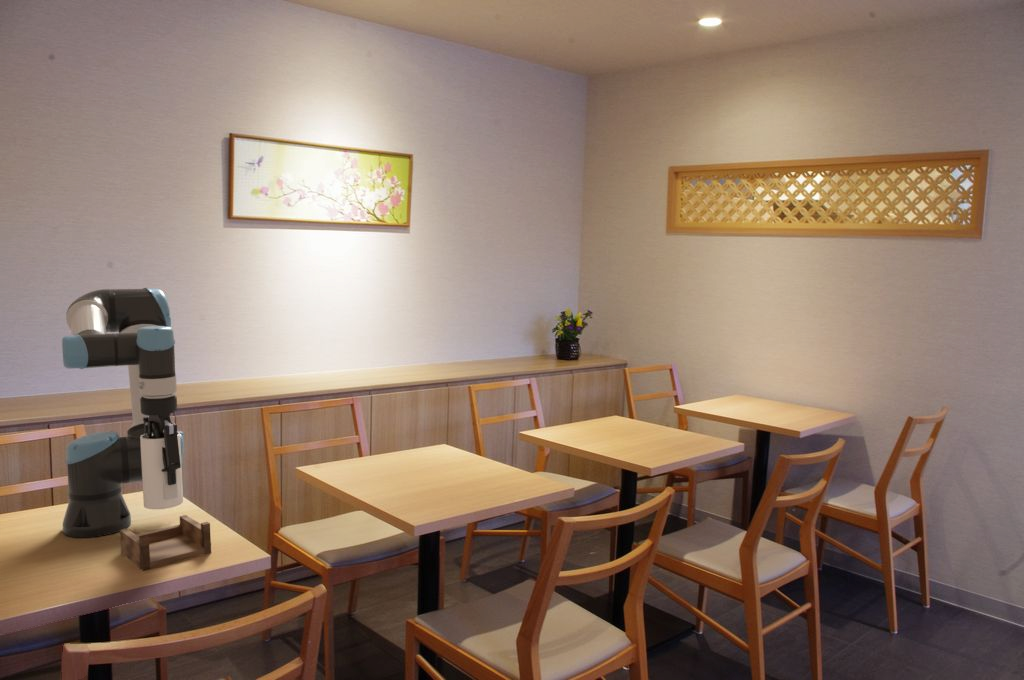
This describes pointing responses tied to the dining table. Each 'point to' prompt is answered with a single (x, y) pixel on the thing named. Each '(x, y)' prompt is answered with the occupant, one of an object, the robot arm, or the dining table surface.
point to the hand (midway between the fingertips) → (163, 493)
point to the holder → (166, 544)
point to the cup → (157, 474)
